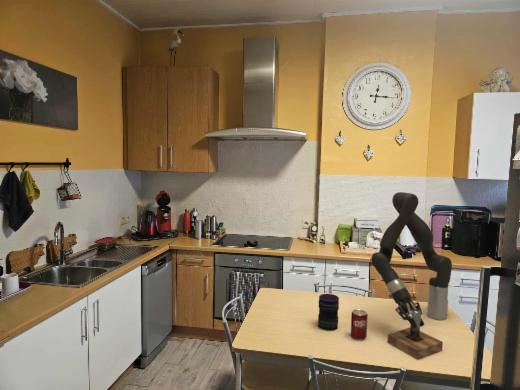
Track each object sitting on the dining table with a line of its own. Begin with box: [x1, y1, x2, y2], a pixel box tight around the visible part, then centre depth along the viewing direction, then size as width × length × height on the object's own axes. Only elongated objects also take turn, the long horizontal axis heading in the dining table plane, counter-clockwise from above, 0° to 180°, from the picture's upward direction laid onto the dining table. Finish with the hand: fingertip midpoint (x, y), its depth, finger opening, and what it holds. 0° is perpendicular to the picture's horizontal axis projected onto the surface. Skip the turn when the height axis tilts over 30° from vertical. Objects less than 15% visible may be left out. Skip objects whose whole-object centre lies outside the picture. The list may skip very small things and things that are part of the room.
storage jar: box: [317, 293, 340, 332], centre depth 178 cm, size 10×10×15 cm
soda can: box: [350, 308, 369, 341], centre depth 168 cm, size 7×7×12 cm
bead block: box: [386, 327, 444, 361], centre depth 160 cm, size 16×16×4 cm
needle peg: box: [409, 309, 422, 337], centre depth 159 cm, size 4×4×11 cm
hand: (419, 326), depth 158 cm, fingers closed on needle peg, 4 cm apart
